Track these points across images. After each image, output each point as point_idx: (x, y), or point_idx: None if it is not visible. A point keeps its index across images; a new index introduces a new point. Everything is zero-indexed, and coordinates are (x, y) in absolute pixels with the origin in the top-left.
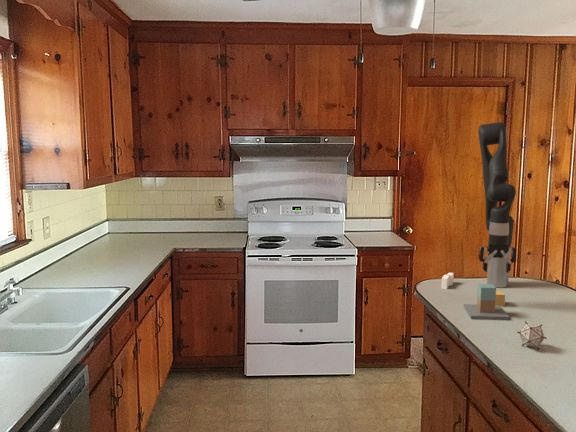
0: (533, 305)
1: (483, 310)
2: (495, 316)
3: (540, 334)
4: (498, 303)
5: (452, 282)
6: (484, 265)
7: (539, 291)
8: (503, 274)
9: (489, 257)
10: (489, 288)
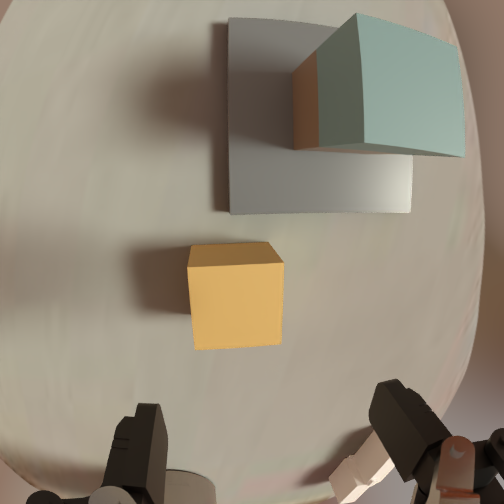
0: (49, 279)
1: None
2: (300, 24)
3: None
4: (226, 247)
5: (340, 471)
6: (432, 423)
7: (41, 435)
8: None
9: (466, 500)
10: (403, 28)
